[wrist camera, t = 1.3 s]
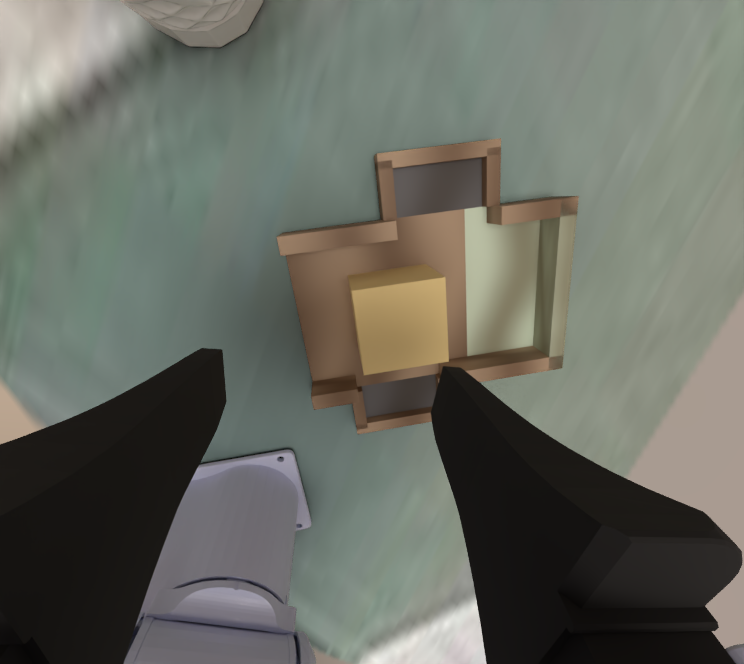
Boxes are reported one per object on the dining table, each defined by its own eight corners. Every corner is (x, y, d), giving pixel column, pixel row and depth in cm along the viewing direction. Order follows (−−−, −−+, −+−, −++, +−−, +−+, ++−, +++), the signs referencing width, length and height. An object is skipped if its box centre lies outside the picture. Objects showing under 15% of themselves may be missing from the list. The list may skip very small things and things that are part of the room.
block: (358, 347, 23) (363, 375, 20) (347, 275, 22) (351, 290, 18) (430, 336, 24) (448, 361, 20) (425, 264, 22) (445, 277, 18)
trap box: (323, 429, 26) (323, 452, 24) (269, 169, 19) (260, 164, 17) (538, 393, 27) (558, 411, 25) (556, 133, 20) (585, 125, 18)
